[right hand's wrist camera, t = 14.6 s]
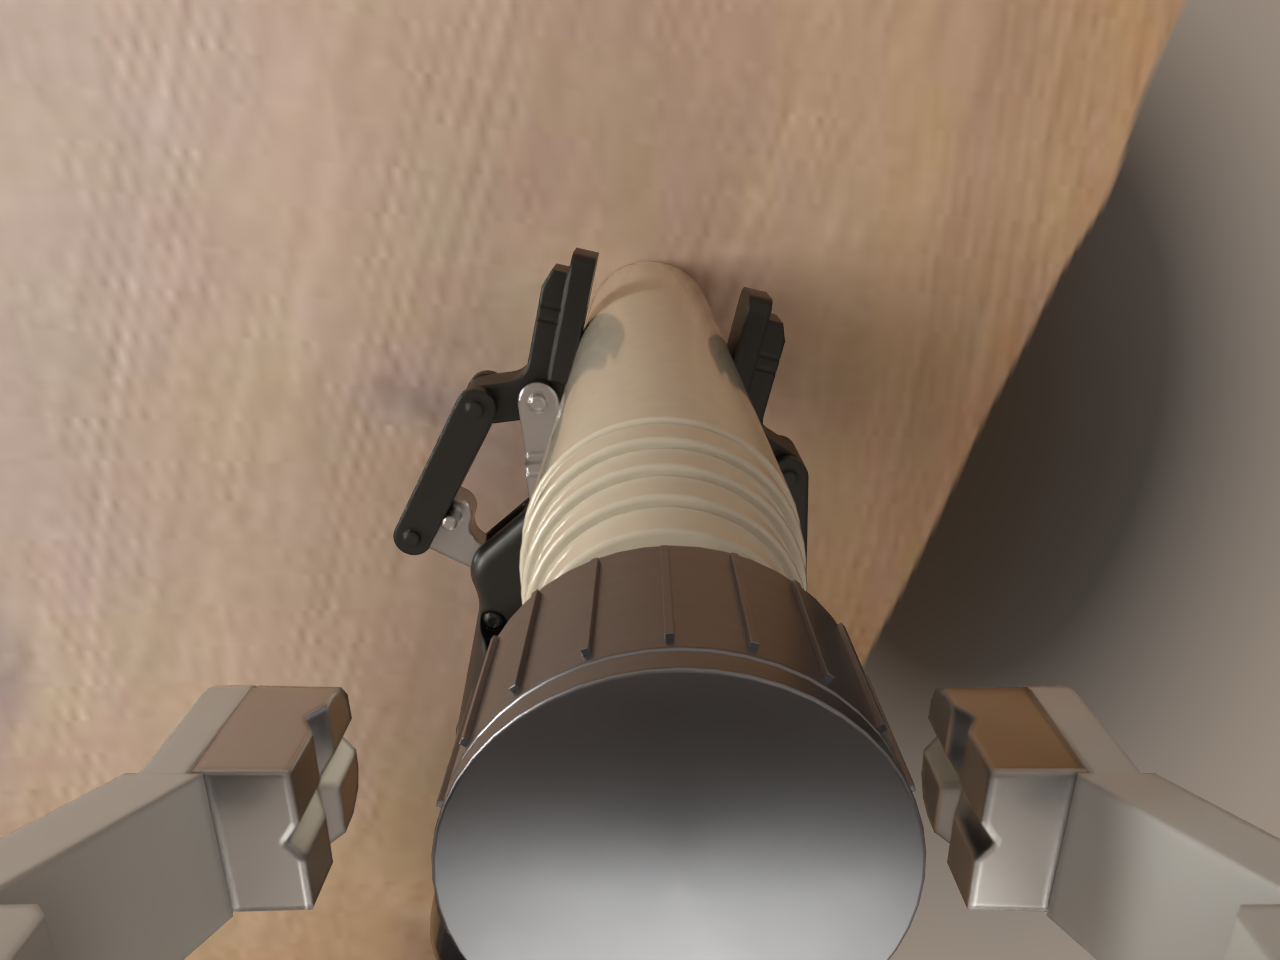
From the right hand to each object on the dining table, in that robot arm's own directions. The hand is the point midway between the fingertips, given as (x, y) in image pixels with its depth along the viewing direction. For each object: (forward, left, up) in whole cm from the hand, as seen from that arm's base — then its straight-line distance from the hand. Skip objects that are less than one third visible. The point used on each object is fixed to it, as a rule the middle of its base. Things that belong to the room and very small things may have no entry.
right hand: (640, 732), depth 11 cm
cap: (0, 0, +2) cm, 2 cm away
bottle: (0, 0, -24) cm, 24 cm away
